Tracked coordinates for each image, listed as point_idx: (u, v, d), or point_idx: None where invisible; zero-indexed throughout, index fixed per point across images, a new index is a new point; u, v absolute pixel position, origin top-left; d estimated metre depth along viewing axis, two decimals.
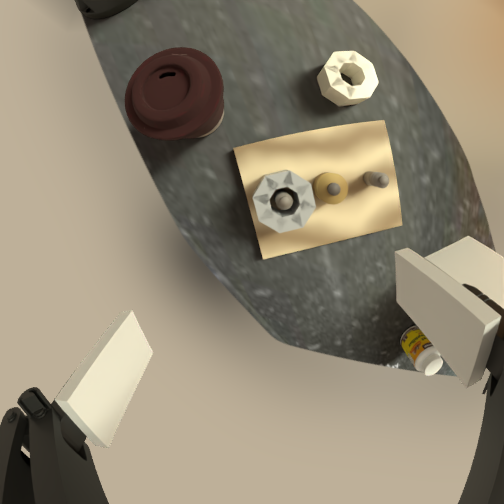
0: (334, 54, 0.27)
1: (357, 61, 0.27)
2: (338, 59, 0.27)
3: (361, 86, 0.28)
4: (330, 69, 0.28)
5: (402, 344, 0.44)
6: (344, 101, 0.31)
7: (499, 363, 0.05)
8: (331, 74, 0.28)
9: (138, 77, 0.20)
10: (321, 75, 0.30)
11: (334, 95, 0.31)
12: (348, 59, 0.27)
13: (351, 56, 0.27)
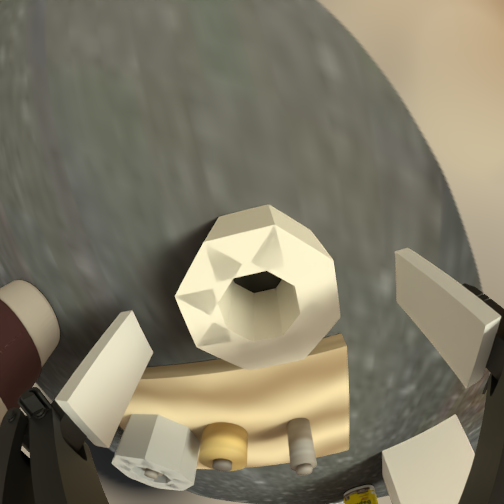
0: (204, 251, 0.11)
1: (282, 264, 0.11)
2: (217, 268, 0.11)
3: (283, 338, 0.12)
4: (192, 303, 0.12)
5: (344, 500, 0.29)
6: None
7: (499, 363, 0.05)
8: (195, 316, 0.12)
9: None
10: None
11: None
12: (251, 260, 0.11)
13: (262, 249, 0.11)
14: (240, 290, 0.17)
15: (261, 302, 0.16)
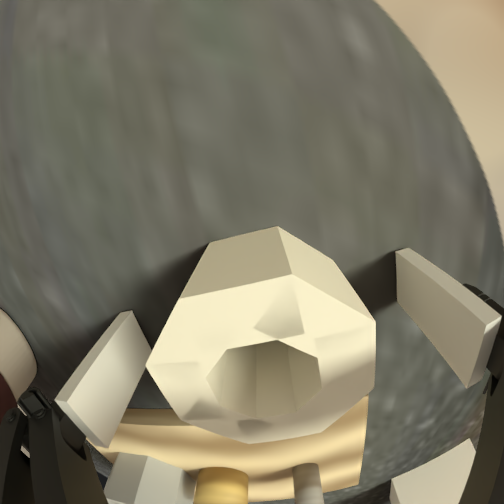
0: (180, 312, 0.07)
1: (300, 330, 0.07)
2: (201, 335, 0.07)
3: (296, 415, 0.08)
4: (170, 376, 0.08)
5: None
6: None
7: (499, 363, 0.05)
8: (176, 390, 0.08)
9: None
10: None
11: None
12: (253, 325, 0.07)
13: (271, 311, 0.07)
14: None
15: (266, 354, 0.12)
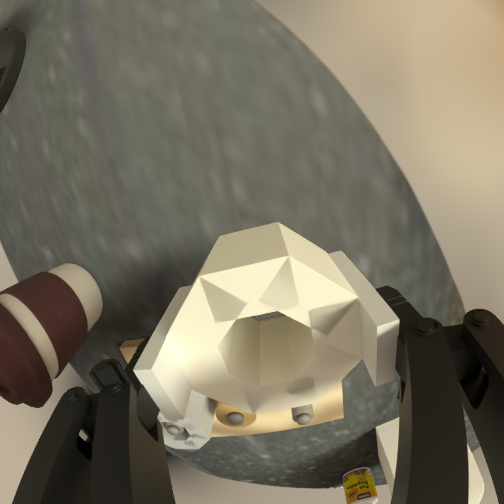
0: (199, 287, 0.09)
1: (296, 303, 0.09)
2: (215, 307, 0.09)
3: (295, 383, 0.10)
4: (187, 345, 0.10)
5: (343, 481, 0.34)
6: None
7: (405, 370, 0.07)
8: (191, 359, 0.10)
9: None
10: None
11: None
12: (258, 298, 0.09)
13: (272, 285, 0.09)
14: (244, 319, 0.14)
15: (268, 334, 0.13)
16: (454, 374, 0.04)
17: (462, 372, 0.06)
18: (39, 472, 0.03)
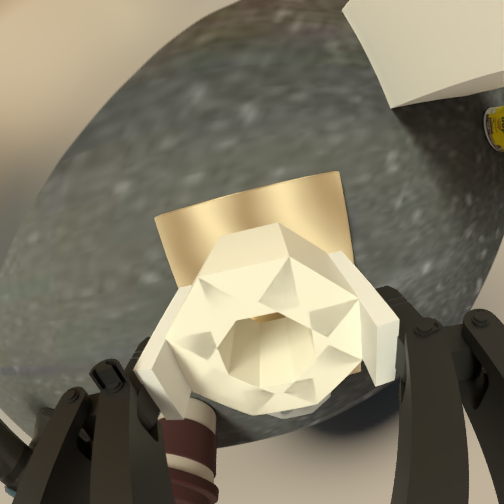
0: (199, 288, 0.09)
1: (296, 304, 0.09)
2: (215, 308, 0.09)
3: (295, 384, 0.10)
4: (186, 347, 0.09)
5: None
6: None
7: (405, 370, 0.07)
8: (190, 361, 0.10)
9: None
10: None
11: None
12: (258, 299, 0.09)
13: (273, 286, 0.09)
14: (244, 320, 0.14)
15: (268, 335, 0.13)
16: (454, 374, 0.04)
17: (463, 372, 0.06)
18: (39, 472, 0.03)
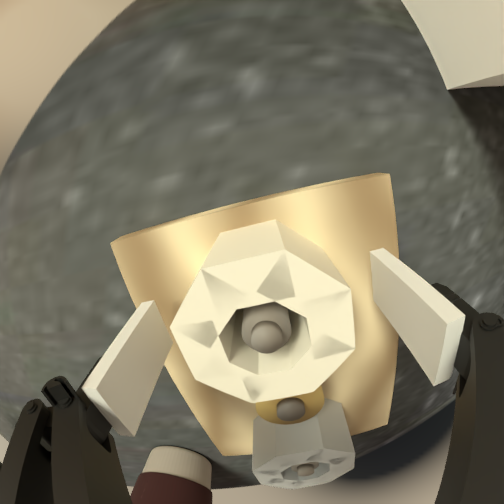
0: (202, 279, 0.09)
1: (292, 294, 0.10)
2: (217, 298, 0.10)
3: (292, 372, 0.11)
4: (189, 335, 0.10)
5: None
6: None
7: (466, 364, 0.06)
8: (193, 349, 0.10)
9: None
10: None
11: None
12: (256, 289, 0.10)
13: (270, 277, 0.09)
14: None
15: None
16: None
17: None
18: (10, 477, 0.03)
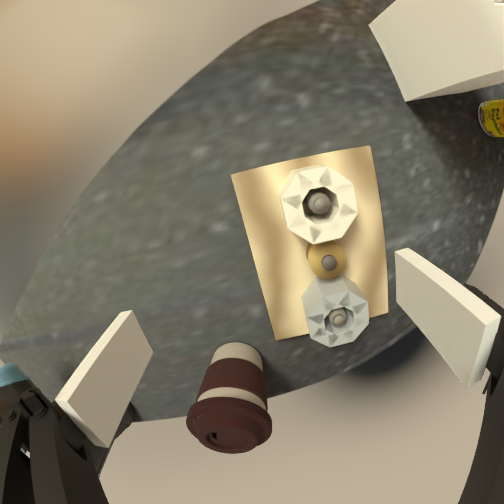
0: (297, 176, 0.24)
1: (330, 183, 0.24)
2: (302, 184, 0.24)
3: (331, 223, 0.25)
4: (289, 202, 0.25)
5: (496, 136, 0.24)
6: None
7: (499, 363, 0.05)
8: (290, 210, 0.25)
9: (216, 450, 0.26)
10: (280, 201, 0.27)
11: None
12: (317, 181, 0.24)
13: (322, 176, 0.24)
14: None
15: (315, 216, 0.29)
16: None
17: None
18: None
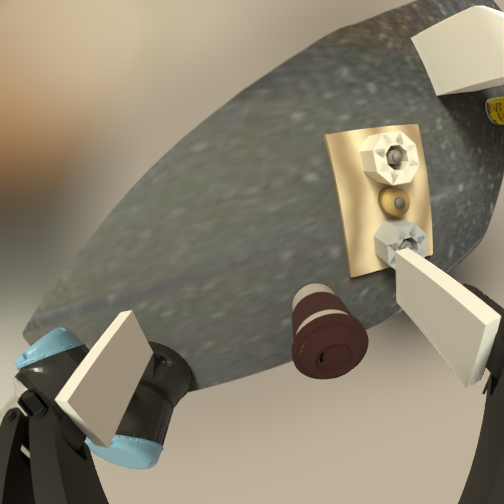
0: (382, 135, 0.30)
1: (403, 143, 0.30)
2: (386, 141, 0.30)
3: (404, 171, 0.31)
4: (378, 153, 0.30)
5: (499, 124, 0.31)
6: (385, 183, 0.33)
7: (499, 363, 0.05)
8: (378, 158, 0.31)
9: (319, 376, 0.31)
10: (366, 154, 0.33)
11: (377, 176, 0.33)
12: (394, 141, 0.30)
13: (398, 137, 0.30)
14: None
15: None
16: None
17: None
18: None
